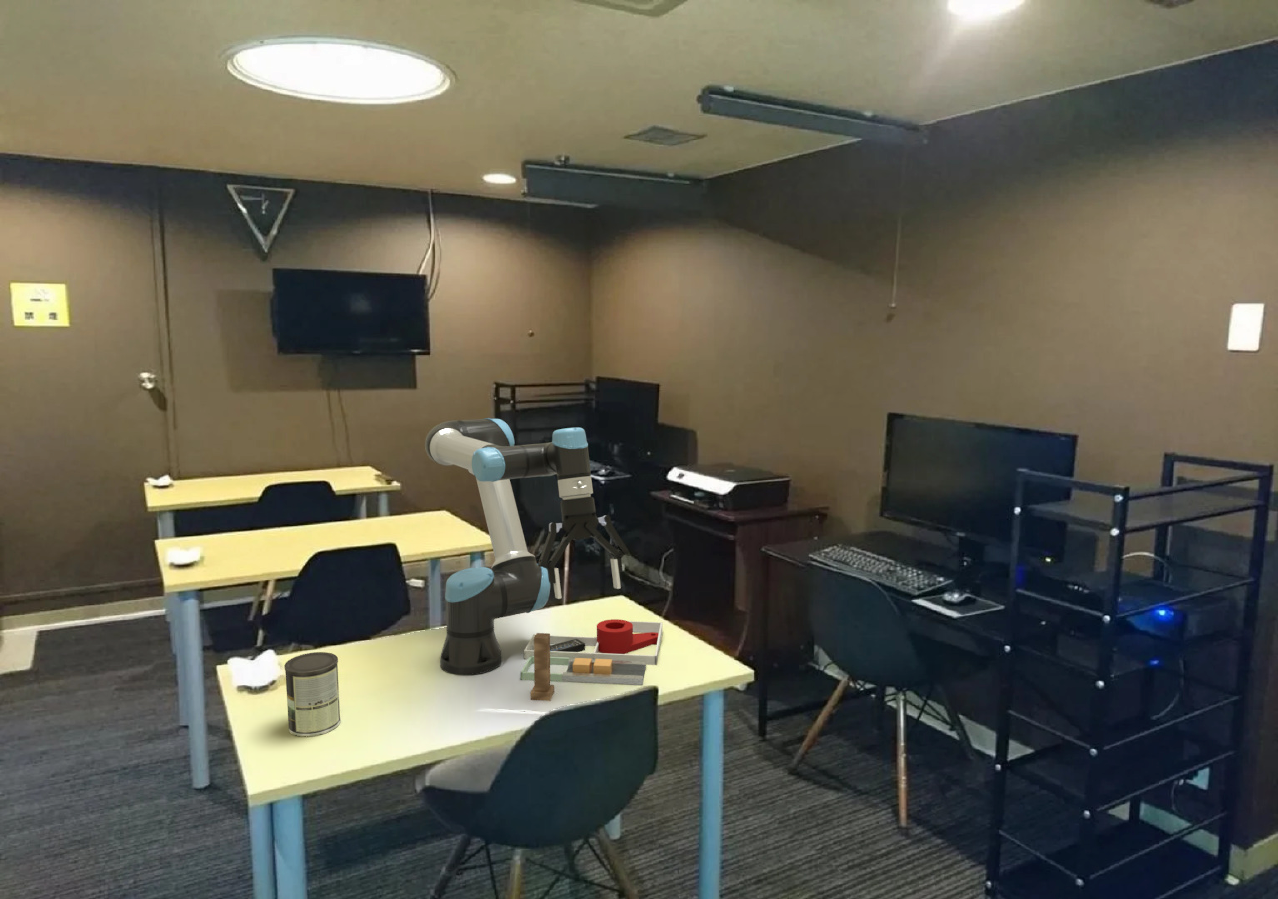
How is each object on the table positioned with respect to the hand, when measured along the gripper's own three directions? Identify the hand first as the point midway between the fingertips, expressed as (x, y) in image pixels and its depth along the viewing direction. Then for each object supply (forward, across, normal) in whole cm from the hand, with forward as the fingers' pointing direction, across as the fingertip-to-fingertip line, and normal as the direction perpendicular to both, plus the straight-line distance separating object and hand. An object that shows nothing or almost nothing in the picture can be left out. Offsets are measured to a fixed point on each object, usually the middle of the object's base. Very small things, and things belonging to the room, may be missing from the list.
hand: (588, 593), depth 175 cm
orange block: (+22, +6, +16) cm, 28 cm away
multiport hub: (+18, 0, +33) cm, 37 cm away
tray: (+20, -7, +22) cm, 31 cm away
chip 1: (+21, +1, +18) cm, 28 cm away
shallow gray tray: (+22, +6, +16) cm, 28 cm away
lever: (+20, +18, +31) cm, 41 cm away
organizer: (+18, +10, +35) cm, 41 cm away
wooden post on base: (+23, -11, +10) cm, 27 cm away
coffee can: (+20, -59, +14) cm, 63 cm away
